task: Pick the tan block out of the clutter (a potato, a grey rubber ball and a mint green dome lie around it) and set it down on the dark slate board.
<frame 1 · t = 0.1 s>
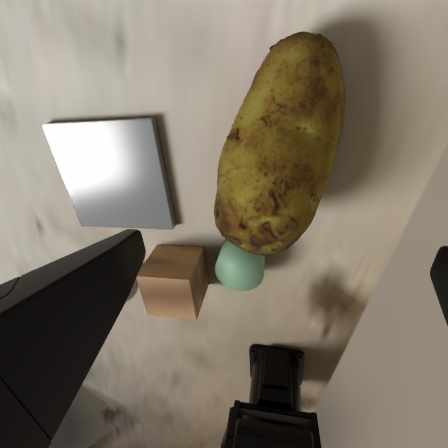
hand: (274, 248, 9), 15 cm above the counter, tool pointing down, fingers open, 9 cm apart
mint green dome: (243, 252, 27), on the counter
slate board: (115, 176, 25), on the counter
potato: (282, 141, 21), on the counter
tan block: (183, 264, 30), on the counter
grey ball: (120, 286, 30), point 2 cm above the counter
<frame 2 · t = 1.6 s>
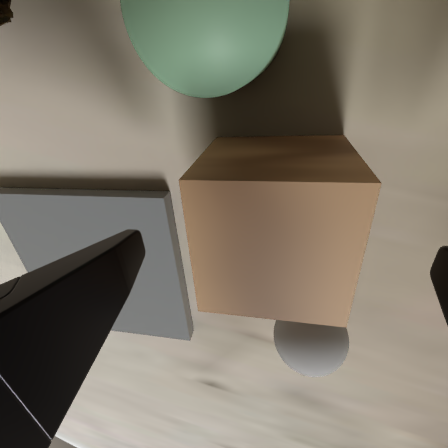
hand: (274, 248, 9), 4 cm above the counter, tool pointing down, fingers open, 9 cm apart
mint green dome: (223, 18, 9), on the counter
slate board: (105, 265, 17), on the counter
tan block: (275, 192, 12), on the counter
grey ball: (309, 336, 14), point 2 cm above the counter
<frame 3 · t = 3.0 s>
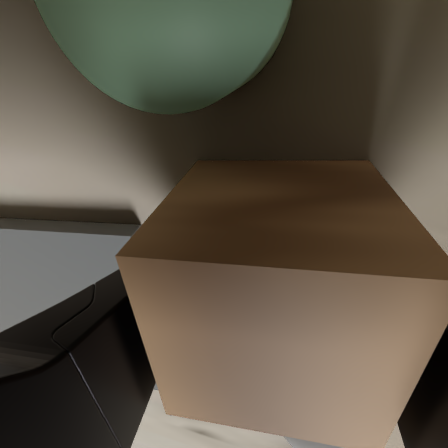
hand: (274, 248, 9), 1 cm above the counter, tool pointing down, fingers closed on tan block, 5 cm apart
slate board: (70, 305, 14), on the counter
tan block: (275, 231, 9), on the counter, touching gripper
grey ball: (318, 405, 11), point 2 cm above the counter
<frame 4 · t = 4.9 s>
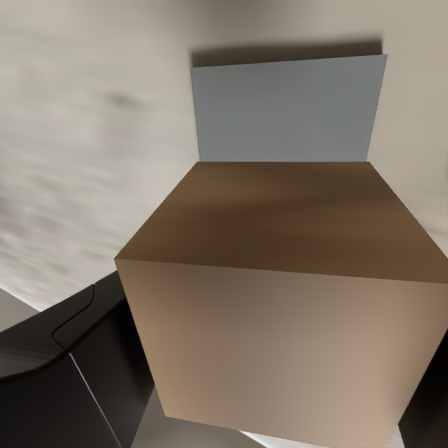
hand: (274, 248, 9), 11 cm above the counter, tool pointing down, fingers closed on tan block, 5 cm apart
slate board: (279, 152, 18), on the counter
tan block: (275, 232, 9), point 10 cm above the counter, touching gripper
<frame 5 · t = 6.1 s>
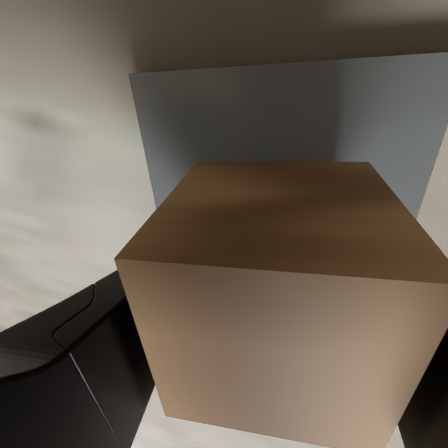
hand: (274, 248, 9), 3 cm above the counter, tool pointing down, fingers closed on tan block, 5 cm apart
slate board: (275, 201, 11), on the counter
tan block: (275, 232, 9), point 2 cm above the counter, touching gripper
when the fingers open (3 cm above the counter, at t = 6.9 s): tan block drops 1 cm, resting on slate board.
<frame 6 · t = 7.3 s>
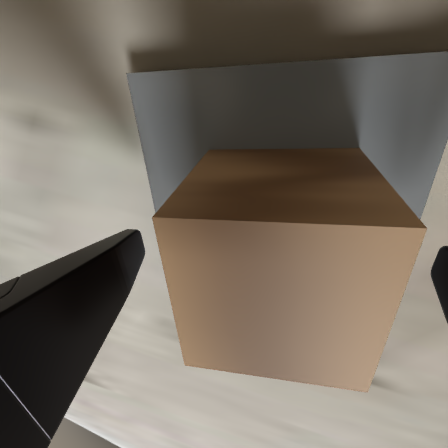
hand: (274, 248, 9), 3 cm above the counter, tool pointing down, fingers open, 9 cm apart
slate board: (276, 203, 11), on the counter
tan block: (277, 213, 11), point 1 cm above the counter, touching slate board
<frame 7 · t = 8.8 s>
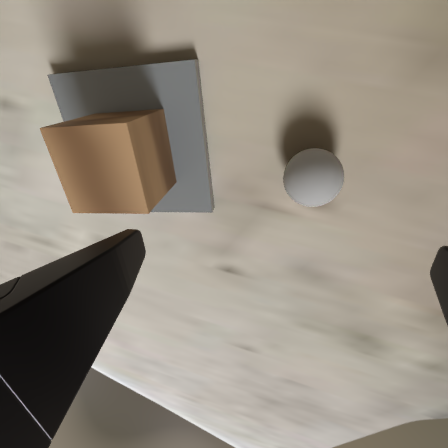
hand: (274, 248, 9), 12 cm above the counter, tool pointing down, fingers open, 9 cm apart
slate board: (140, 145, 20), on the counter
tan block: (137, 149, 19), point 1 cm above the counter, touching slate board
grey ball: (312, 177, 17), point 2 cm above the counter
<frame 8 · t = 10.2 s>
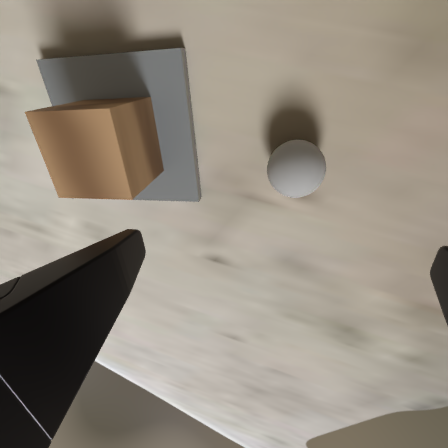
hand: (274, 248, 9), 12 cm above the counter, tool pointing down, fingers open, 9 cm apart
slate board: (129, 133, 20), on the counter
tan block: (125, 136, 20), point 1 cm above the counter, touching slate board
grey ball: (295, 169, 17), point 2 cm above the counter
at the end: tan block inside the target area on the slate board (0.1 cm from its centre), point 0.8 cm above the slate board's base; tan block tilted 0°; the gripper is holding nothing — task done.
